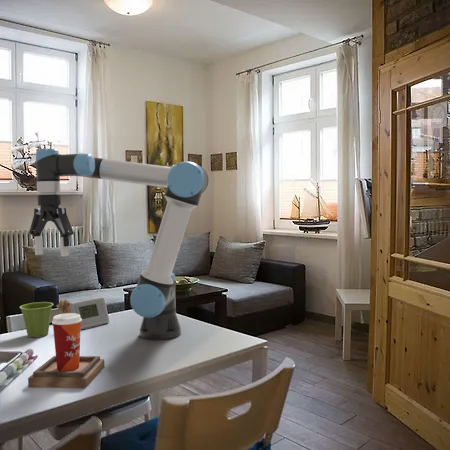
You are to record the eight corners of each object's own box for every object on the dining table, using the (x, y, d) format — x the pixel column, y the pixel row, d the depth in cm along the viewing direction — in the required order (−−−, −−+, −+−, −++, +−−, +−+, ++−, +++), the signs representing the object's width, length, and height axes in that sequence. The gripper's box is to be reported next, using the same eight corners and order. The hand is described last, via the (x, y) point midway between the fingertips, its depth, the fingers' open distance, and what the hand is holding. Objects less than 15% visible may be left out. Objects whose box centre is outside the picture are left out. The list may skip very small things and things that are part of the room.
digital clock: (74, 332, 189) (73, 304, 188) (65, 327, 196) (64, 300, 195) (113, 324, 199) (112, 298, 198) (103, 320, 206) (103, 295, 205)
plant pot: (38, 329, 193) (38, 300, 192) (61, 333, 187) (60, 303, 187) (13, 337, 182) (12, 306, 182) (36, 341, 177) (35, 310, 176)
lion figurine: (55, 321, 206) (54, 299, 205) (66, 318, 210) (65, 297, 210) (77, 326, 197) (76, 304, 197) (88, 323, 201) (87, 301, 201)
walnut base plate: (104, 367, 149) (104, 355, 149) (86, 387, 133) (85, 374, 133) (52, 366, 150) (52, 354, 150) (28, 387, 134) (27, 373, 134)
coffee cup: (74, 373, 136) (72, 320, 136) (47, 372, 138) (45, 319, 137) (88, 363, 145) (87, 313, 144) (62, 362, 146) (61, 312, 145)
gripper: (82, 192, 167) (85, 255, 168) (35, 195, 181) (37, 253, 182) (64, 193, 161) (67, 257, 162) (16, 195, 174) (19, 255, 175)
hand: (51, 255), depth 172 cm, fingers open, 13 cm apart
